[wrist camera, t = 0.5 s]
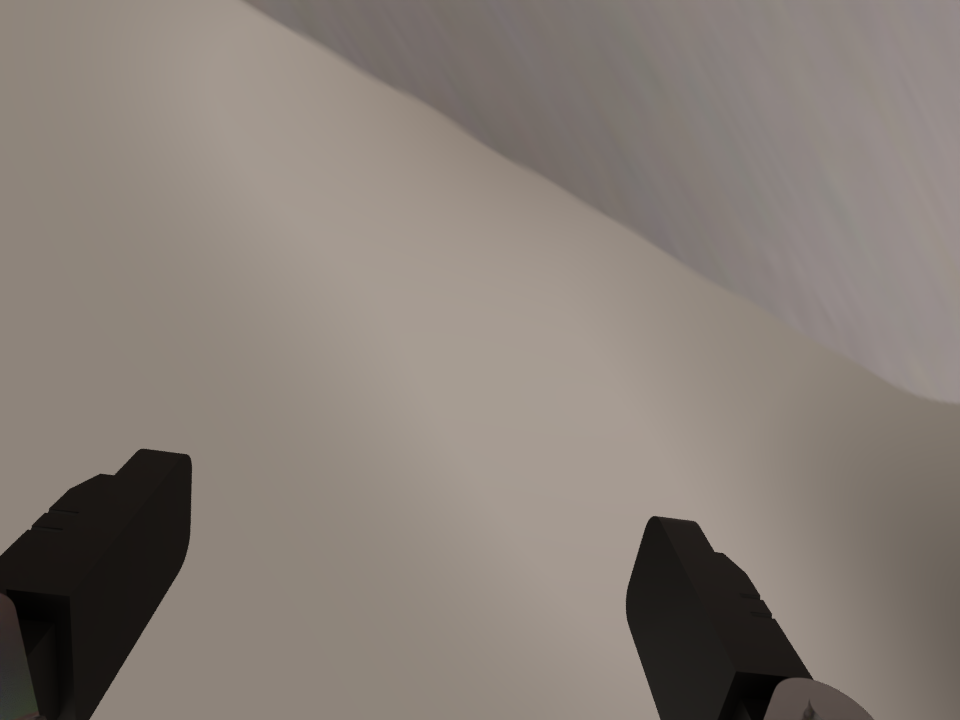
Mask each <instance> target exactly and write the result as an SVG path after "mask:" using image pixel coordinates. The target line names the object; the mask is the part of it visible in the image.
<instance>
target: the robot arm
mask: <svg viewBox="0 0 960 720" xmlns="http://www.w3.org/2000/svg"><path fill="white" fill-rule="evenodd" d="M191 484H192V463H191V458H190V457H189V455H187V454H180V453H172V452H165V451H157V450H149V449H140V450H138V451H137V452H136V453H135V454H134V455H133V456H132V457H131V459H129V460H128V462H127V463H126V464H125V465H124V466H123V467H122V468H121V469H120V470H119V471H118V472H117V473H116V474H115V475H106V474H99V475H97V476H95V477H93V478H91V479H89V480H87V481H85V482H83V483H81V484H79V485H77V486H75V487H73V488H71V489H69V490H68V491H67V492H66V493H65V494H64V495H63V496H62V497H61V498H60V499H59V500H58V501H57V502H56V503H55V504H54V505H53V506H51V507H50V508H49V512H48V513H44V514H43V515H42V516H41V517H40V518H39V519H38V520H37V521H36V522H35V523H34V524H33V525H32V528H31V530H27V531H26V532H25V533H24V534H22V535H21V537H19V538H18V539H17V540H16V541H15V542H14V543H13V544H12V545H11V546H10V547H9V548H8V549H7V550H6V551H5V552H4V553H3V554H2V555H1V556H0V720H89V719H90V717H91V716H92V714H93V713H94V711H95V709H96V708H97V706H98V705H99V703H100V701H101V700H102V698H103V696H104V694H105V693H106V691H107V690H108V688H109V686H110V684H111V683H112V681H113V680H114V678H115V677H116V675H117V673H118V671H119V670H120V668H121V667H122V665H123V663H124V662H125V660H126V658H127V656H128V655H129V653H130V652H131V650H132V649H133V647H134V645H135V644H136V642H137V640H138V639H139V637H140V635H141V633H142V632H143V630H144V629H145V627H146V625H147V624H148V622H149V621H150V619H151V617H152V616H153V614H154V612H155V611H156V609H157V607H158V606H159V604H160V602H161V601H162V599H163V598H164V596H165V594H166V593H167V591H168V589H169V587H170V586H171V584H172V583H173V581H174V579H175V578H176V576H177V575H178V573H179V571H180V569H181V567H182V565H183V562H184V560H185V557H186V553H187V549H188V545H189V539H190V525H191ZM626 614H627V621H628V624H629V628H630V631H631V634H632V637H633V640H634V643H635V645H636V648H637V651H638V654H639V657H640V660H641V663H642V666H643V669H644V672H645V675H646V678H647V681H648V684H649V687H650V690H651V693H652V696H653V699H654V701H655V704H656V708H657V710H658V713H659V716H660V719H661V720H874V719H873V718H872V716H871V715H870V714H869V713H868V712H867V711H866V710H865V709H864V708H862V707H861V706H860V705H859V704H858V703H857V702H855V701H854V700H853V699H851V698H850V697H848V696H847V695H845V694H844V693H842V692H840V691H839V690H837V689H835V688H833V687H831V686H829V685H827V684H824V683H821V682H818V681H815V680H813V678H812V676H811V675H810V673H809V672H808V670H807V669H806V667H805V665H804V664H803V662H802V661H801V659H800V658H799V656H798V654H797V653H796V651H795V650H794V648H793V646H792V645H791V643H790V642H789V640H788V639H787V637H786V635H785V634H784V632H783V631H782V629H781V628H780V626H779V624H778V623H777V621H776V620H775V619H772V613H771V612H770V610H769V609H768V607H767V606H766V604H765V602H764V601H763V600H760V594H759V593H758V592H757V590H756V589H755V587H754V585H753V583H752V582H751V580H750V579H749V577H748V576H747V574H746V573H745V572H744V571H743V570H742V569H740V568H739V567H738V566H737V565H736V564H735V563H734V562H732V561H731V560H730V559H729V558H728V557H727V556H726V555H724V554H723V553H718V552H714V550H713V548H712V547H711V545H710V543H709V542H708V540H707V538H706V537H705V535H704V533H703V532H702V530H701V528H700V526H699V525H698V524H697V523H696V522H694V521H689V520H681V519H673V518H666V517H657V516H653V517H651V518H650V519H649V521H648V523H647V525H646V528H645V531H644V534H643V538H642V541H641V544H640V548H639V551H638V554H637V558H636V561H635V564H634V568H633V571H632V575H631V578H630V581H629V585H628V589H627V595H626Z"/></svg>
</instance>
